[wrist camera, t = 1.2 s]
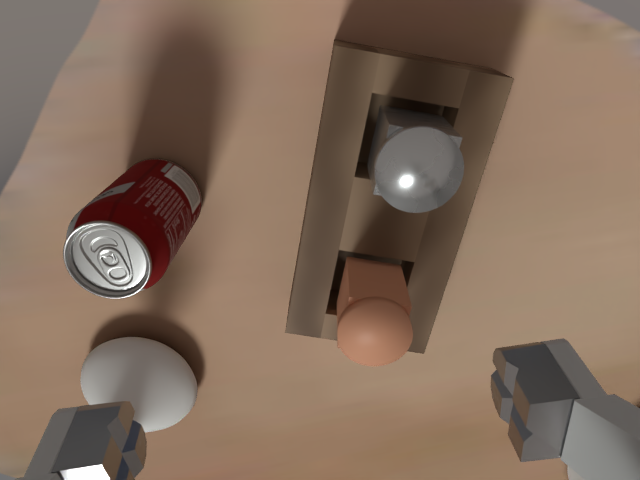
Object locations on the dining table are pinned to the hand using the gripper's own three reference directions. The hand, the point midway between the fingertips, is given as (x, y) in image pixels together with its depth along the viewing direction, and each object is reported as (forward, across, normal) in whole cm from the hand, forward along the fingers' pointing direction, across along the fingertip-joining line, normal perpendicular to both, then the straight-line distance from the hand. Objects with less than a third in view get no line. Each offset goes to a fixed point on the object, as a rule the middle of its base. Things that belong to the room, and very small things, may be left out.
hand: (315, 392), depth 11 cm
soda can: (+32, -12, -9) cm, 35 cm away
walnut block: (+30, +6, -11) cm, 32 cm away
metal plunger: (+26, +8, -5) cm, 27 cm away
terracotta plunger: (+25, +4, -16) cm, 30 cm away
